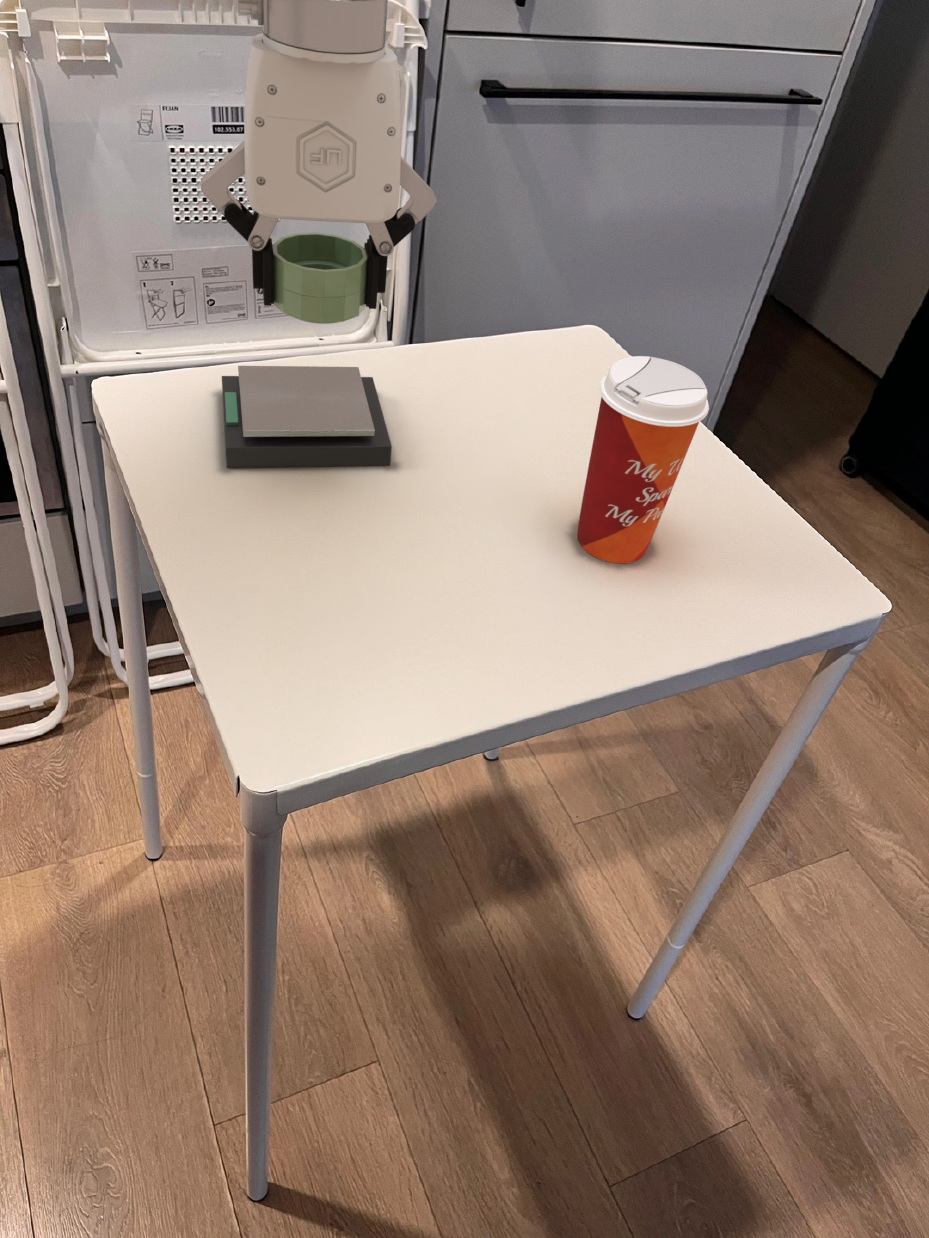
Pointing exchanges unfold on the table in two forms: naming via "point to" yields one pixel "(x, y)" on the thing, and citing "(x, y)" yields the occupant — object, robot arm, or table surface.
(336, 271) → the bowl
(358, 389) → the platform
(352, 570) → the table surface
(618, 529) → the coffee cup
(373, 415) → the scale base
